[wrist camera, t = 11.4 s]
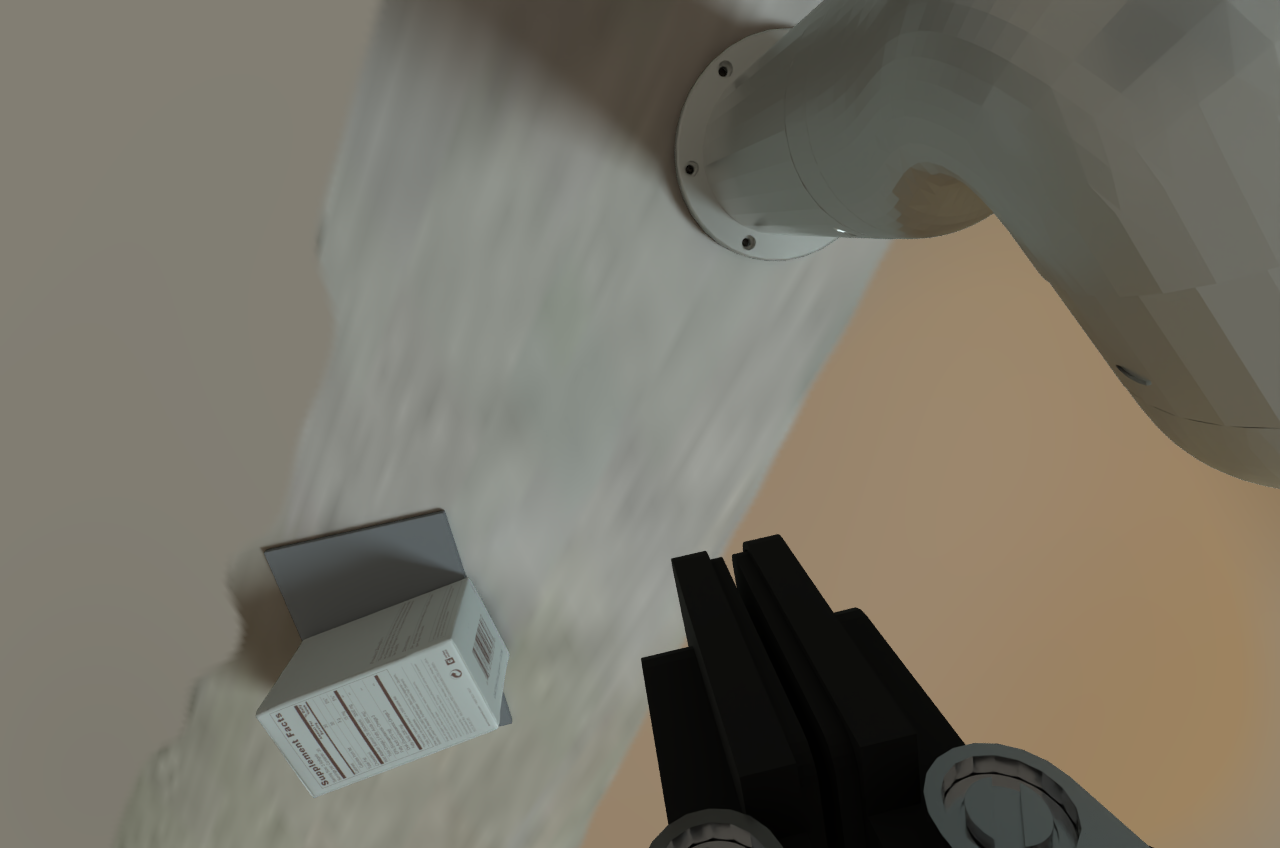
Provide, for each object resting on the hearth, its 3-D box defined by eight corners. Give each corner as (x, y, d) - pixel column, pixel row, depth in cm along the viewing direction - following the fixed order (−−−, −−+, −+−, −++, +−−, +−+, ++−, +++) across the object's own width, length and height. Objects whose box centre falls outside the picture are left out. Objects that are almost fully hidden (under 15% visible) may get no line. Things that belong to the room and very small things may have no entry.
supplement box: (512, 655, 46) (351, 715, 46) (469, 573, 44) (300, 636, 44) (501, 733, 39) (312, 803, 39) (450, 639, 37) (248, 714, 37)
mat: (444, 510, 43) (443, 512, 42) (512, 719, 48) (511, 723, 48) (266, 550, 42) (263, 553, 42) (355, 756, 48) (354, 760, 47)
